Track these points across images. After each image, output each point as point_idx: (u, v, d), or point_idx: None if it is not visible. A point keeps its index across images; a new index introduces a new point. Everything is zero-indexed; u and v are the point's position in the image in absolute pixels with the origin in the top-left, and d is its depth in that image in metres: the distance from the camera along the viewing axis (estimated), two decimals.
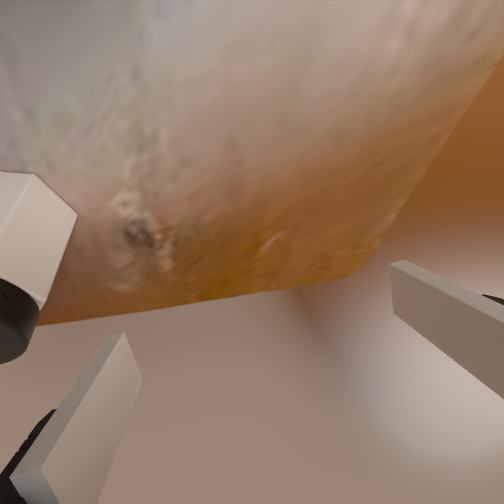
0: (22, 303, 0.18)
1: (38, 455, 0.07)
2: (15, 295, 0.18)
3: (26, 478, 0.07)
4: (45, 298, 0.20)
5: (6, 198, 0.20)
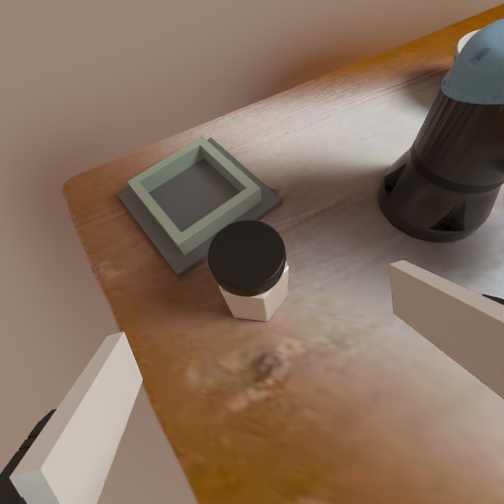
0: (272, 284, 0.30)
1: (38, 455, 0.07)
2: (276, 281, 0.30)
3: (26, 478, 0.07)
4: (264, 298, 0.30)
5: None
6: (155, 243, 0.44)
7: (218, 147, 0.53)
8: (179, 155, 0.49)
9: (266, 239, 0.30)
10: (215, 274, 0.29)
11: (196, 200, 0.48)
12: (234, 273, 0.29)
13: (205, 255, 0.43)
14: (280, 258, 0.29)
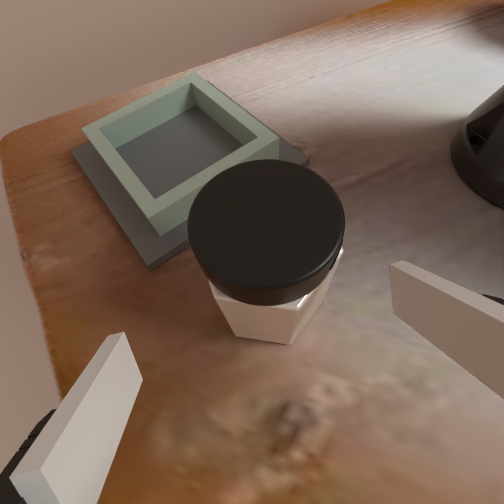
0: (317, 282, 0.15)
1: (38, 455, 0.07)
2: (324, 276, 0.15)
3: (26, 478, 0.07)
4: (299, 309, 0.15)
5: None
6: (118, 218, 0.29)
7: None
8: (160, 95, 0.34)
9: (305, 192, 0.15)
10: (201, 258, 0.14)
11: (183, 158, 0.33)
12: (241, 257, 0.14)
13: None
14: (336, 228, 0.14)
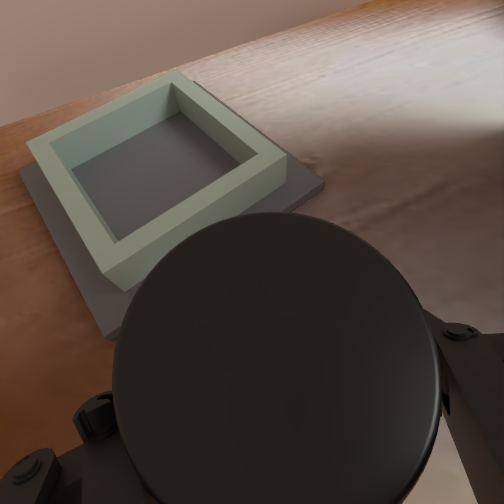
0: None
1: None
2: None
3: None
4: None
5: None
6: (69, 264, 0.22)
7: None
8: (132, 99, 0.26)
9: (350, 287, 0.08)
10: (131, 454, 0.06)
11: (161, 180, 0.25)
12: (218, 455, 0.06)
13: None
14: (427, 381, 0.06)
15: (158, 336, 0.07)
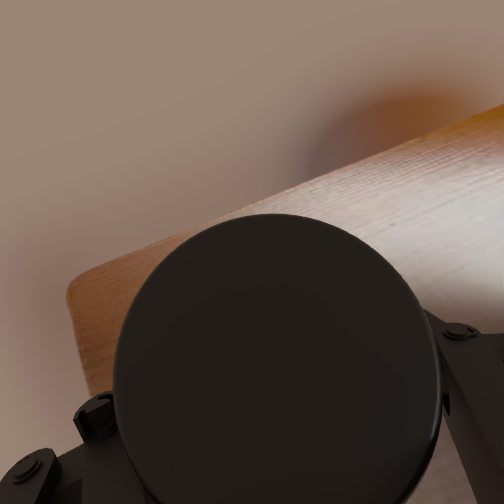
0: None
1: None
2: None
3: None
4: None
5: None
6: None
7: None
8: None
9: (351, 289, 0.08)
10: (131, 456, 0.06)
11: None
12: (219, 458, 0.06)
13: None
14: (428, 384, 0.06)
15: (159, 338, 0.07)
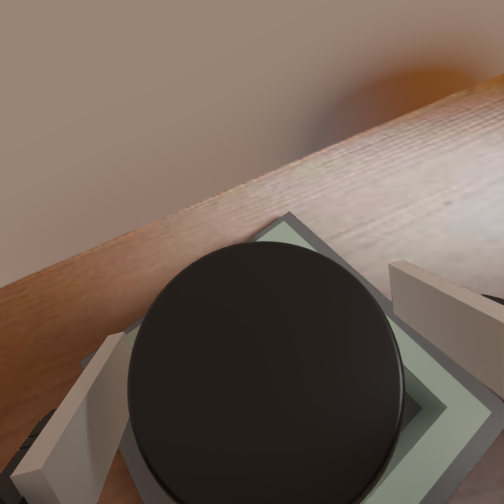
0: None
1: (39, 455, 0.07)
2: None
3: (27, 477, 0.07)
4: None
5: None
6: None
7: (310, 236, 0.24)
8: None
9: (331, 312, 0.09)
10: (143, 452, 0.08)
11: None
12: (216, 455, 0.07)
13: None
14: (392, 397, 0.08)
15: (166, 352, 0.09)
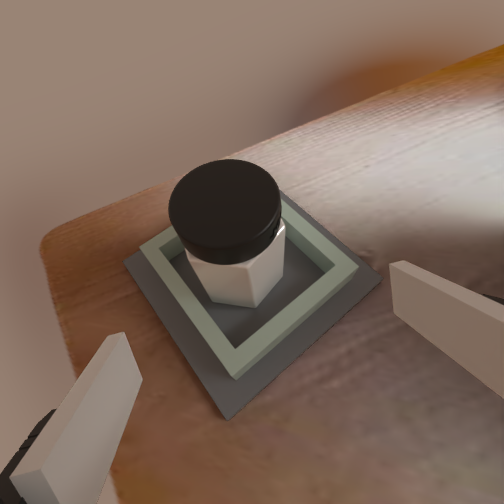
0: (260, 247, 0.20)
1: (38, 455, 0.07)
2: (267, 243, 0.21)
3: (26, 478, 0.07)
4: (249, 268, 0.21)
5: None
6: (186, 354, 0.27)
7: None
8: None
9: (254, 183, 0.21)
10: (177, 228, 0.20)
11: None
12: (204, 227, 0.19)
13: (271, 380, 0.26)
14: (273, 208, 0.20)
15: (184, 199, 0.21)
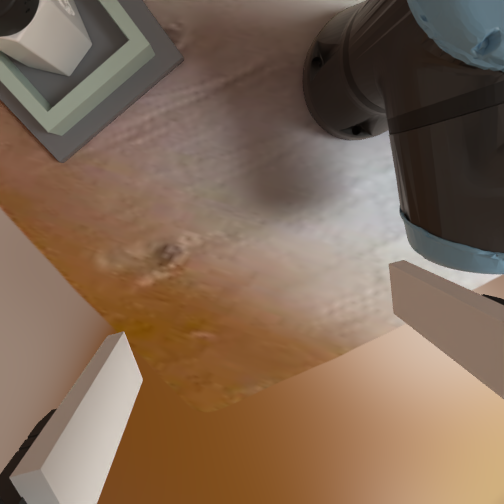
0: (19, 22, 0.24)
1: (38, 455, 0.07)
2: (26, 17, 0.24)
3: (26, 478, 0.07)
4: (19, 41, 0.25)
5: (76, 23, 0.30)
6: (16, 113, 0.34)
7: None
8: None
9: None
10: None
11: None
12: None
13: (90, 137, 0.36)
14: None
15: None
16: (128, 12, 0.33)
